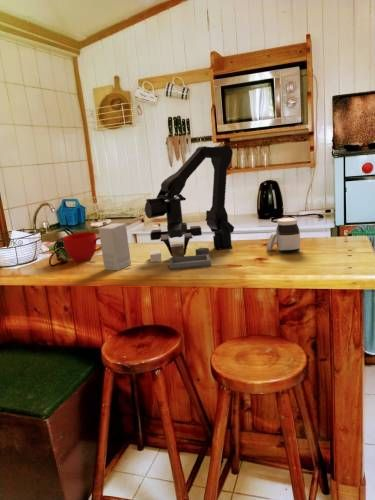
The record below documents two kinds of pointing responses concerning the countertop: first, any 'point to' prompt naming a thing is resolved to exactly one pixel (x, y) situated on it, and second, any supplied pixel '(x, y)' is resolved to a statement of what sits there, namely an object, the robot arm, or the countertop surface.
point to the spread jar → (286, 236)
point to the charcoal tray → (189, 262)
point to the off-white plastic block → (155, 255)
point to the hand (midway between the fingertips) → (178, 255)
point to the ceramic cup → (81, 246)
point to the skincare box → (114, 246)
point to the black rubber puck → (202, 251)
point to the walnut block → (177, 250)
